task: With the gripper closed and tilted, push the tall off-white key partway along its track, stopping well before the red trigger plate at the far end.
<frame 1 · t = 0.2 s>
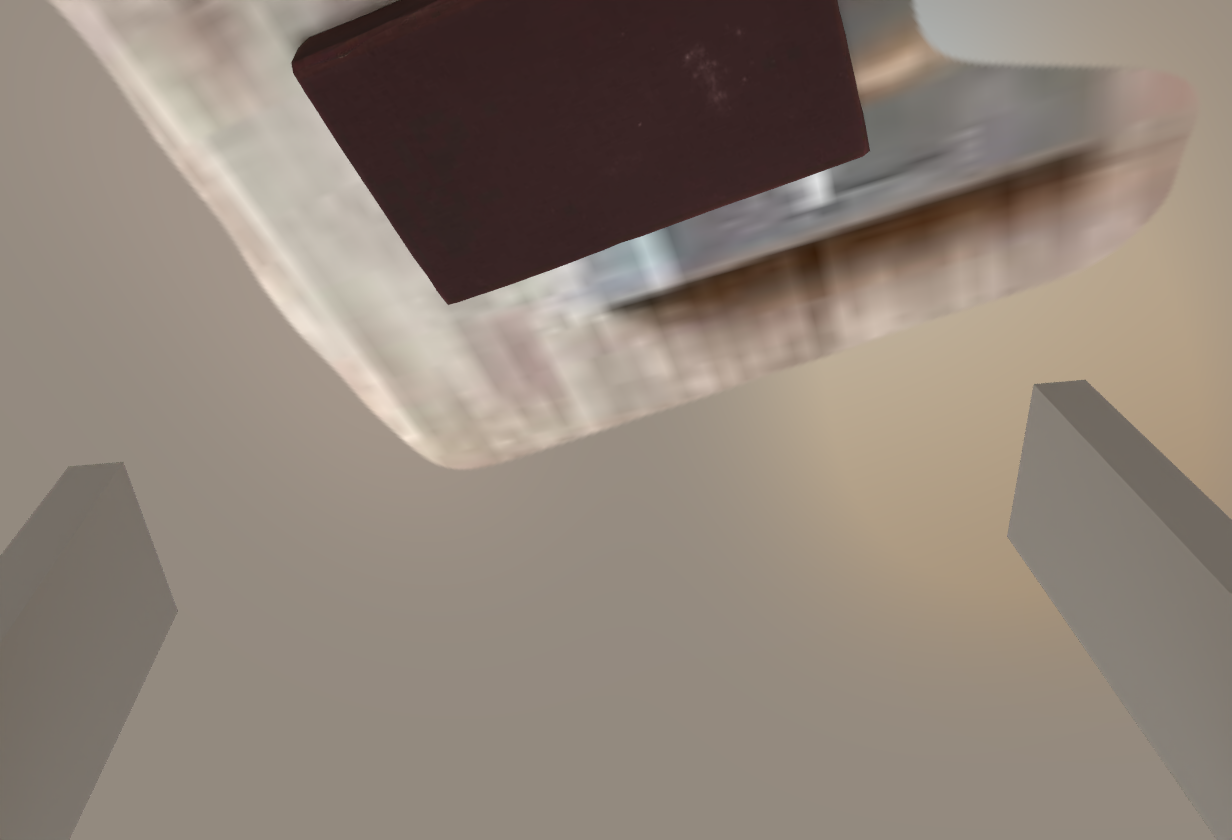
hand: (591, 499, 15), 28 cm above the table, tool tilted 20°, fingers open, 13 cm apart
book: (594, 75, 40), on the table
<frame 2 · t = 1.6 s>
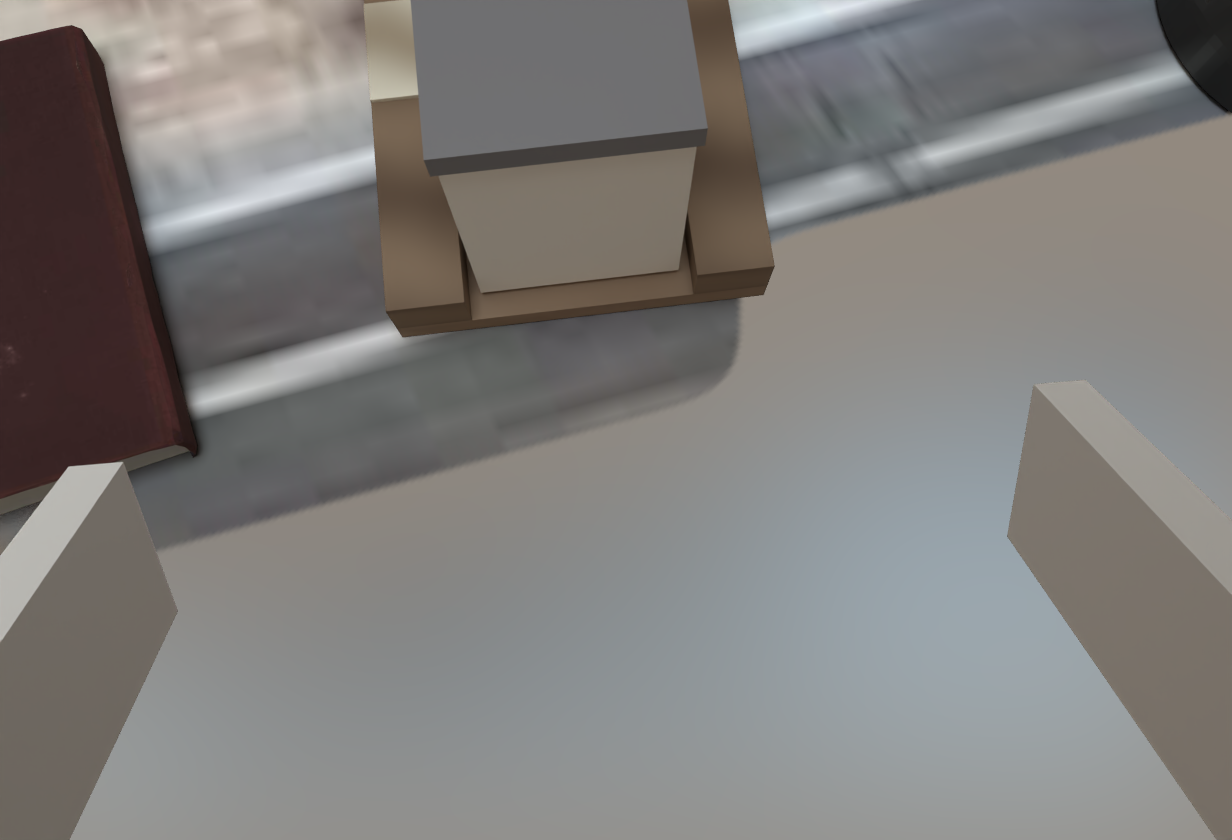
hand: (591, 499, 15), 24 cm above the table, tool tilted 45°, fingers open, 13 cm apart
key track: (560, 122, 43), on the table
book: (15, 296, 42), on the table
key: (564, 143, 35), point 7 cm above the table, slide at 0.0 cm
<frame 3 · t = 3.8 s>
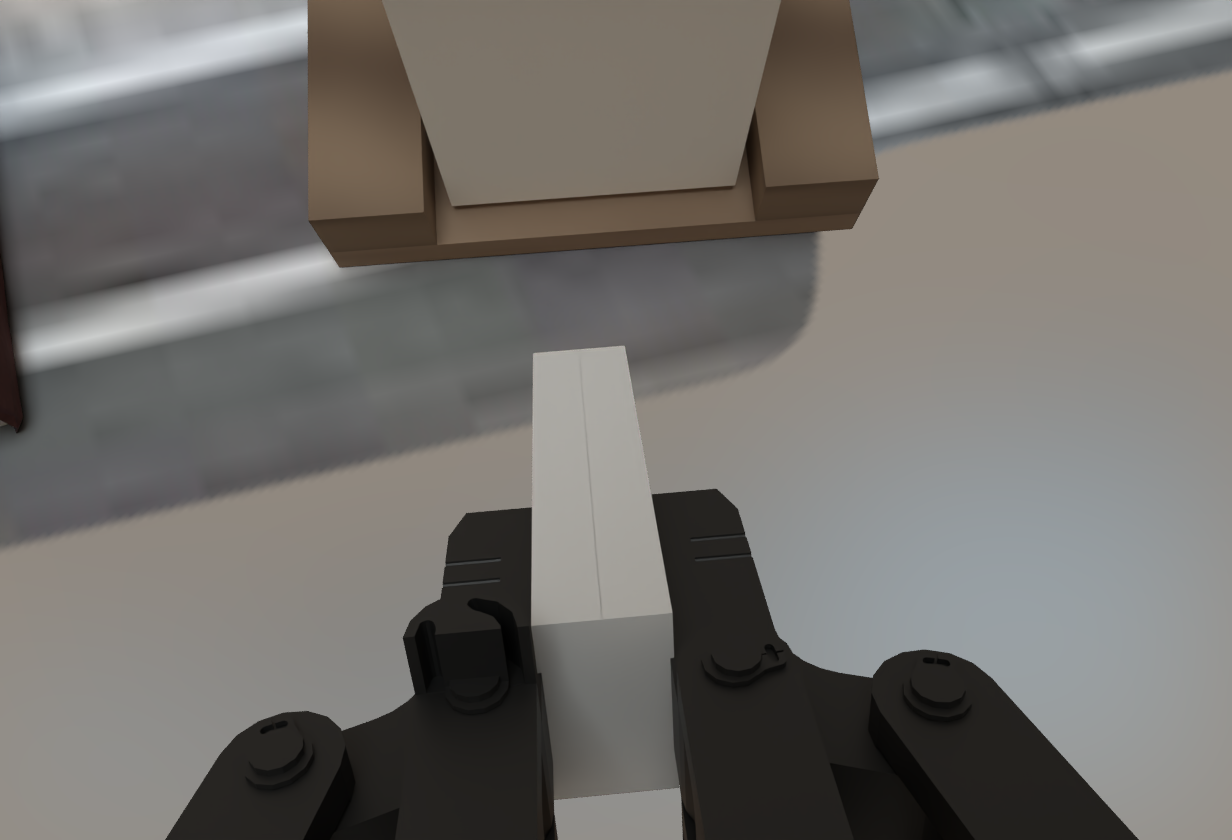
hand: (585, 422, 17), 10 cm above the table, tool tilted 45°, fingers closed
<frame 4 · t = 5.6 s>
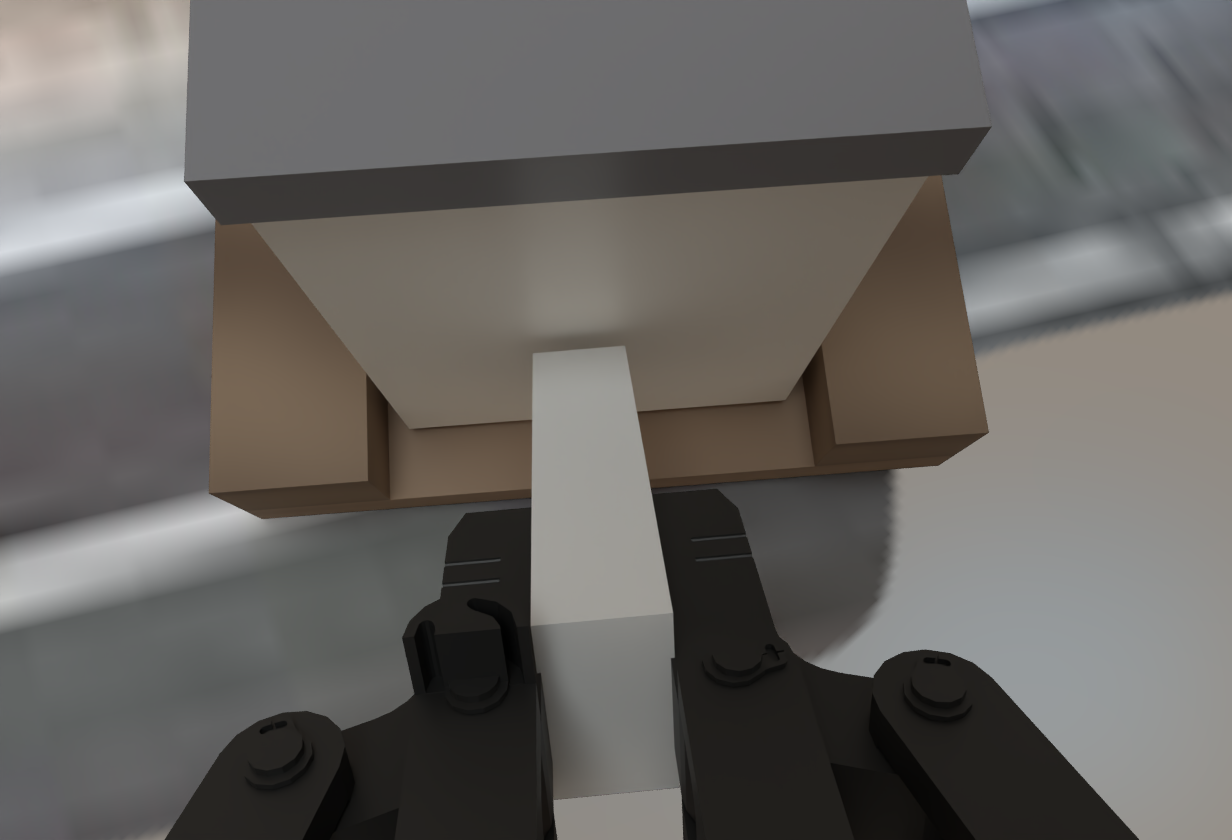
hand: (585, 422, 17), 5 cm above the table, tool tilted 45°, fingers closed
key track: (574, 130, 24), on the table
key: (582, 153, 16), point 7 cm above the table, slide at 0.4 cm, touching gripper
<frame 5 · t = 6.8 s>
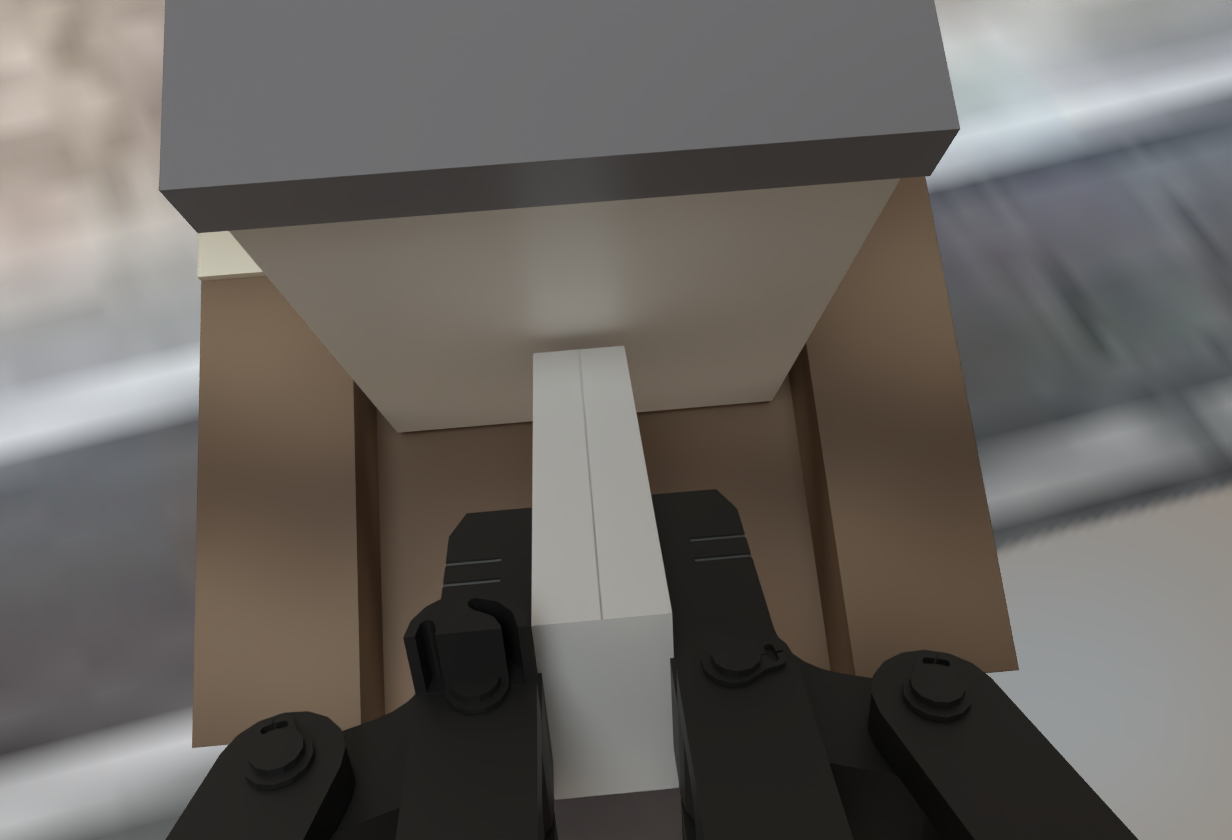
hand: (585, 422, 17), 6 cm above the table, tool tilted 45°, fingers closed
key track: (576, 305, 23), on the table
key: (564, 157, 16), point 7 cm above the table, slide at 4.9 cm, touching gripper
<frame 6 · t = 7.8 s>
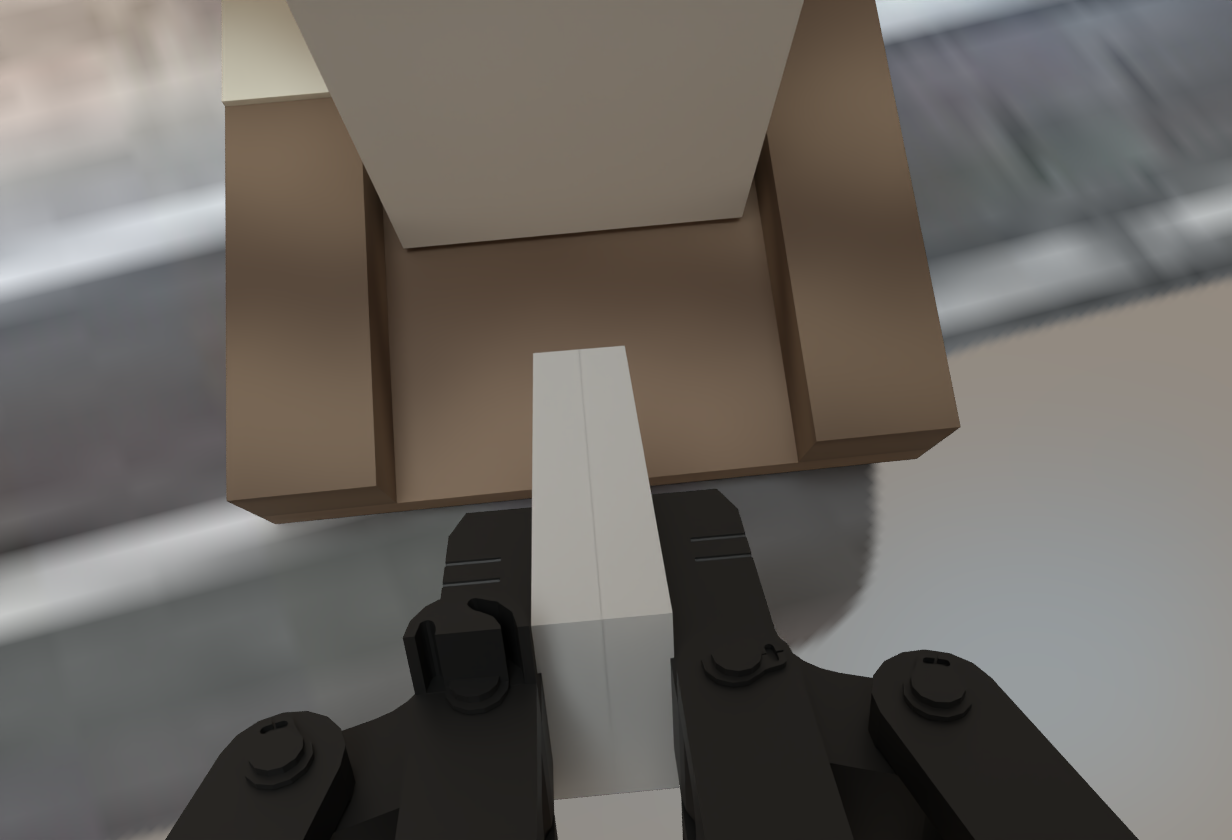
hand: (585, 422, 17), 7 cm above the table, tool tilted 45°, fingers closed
key track: (564, 146, 25), on the table
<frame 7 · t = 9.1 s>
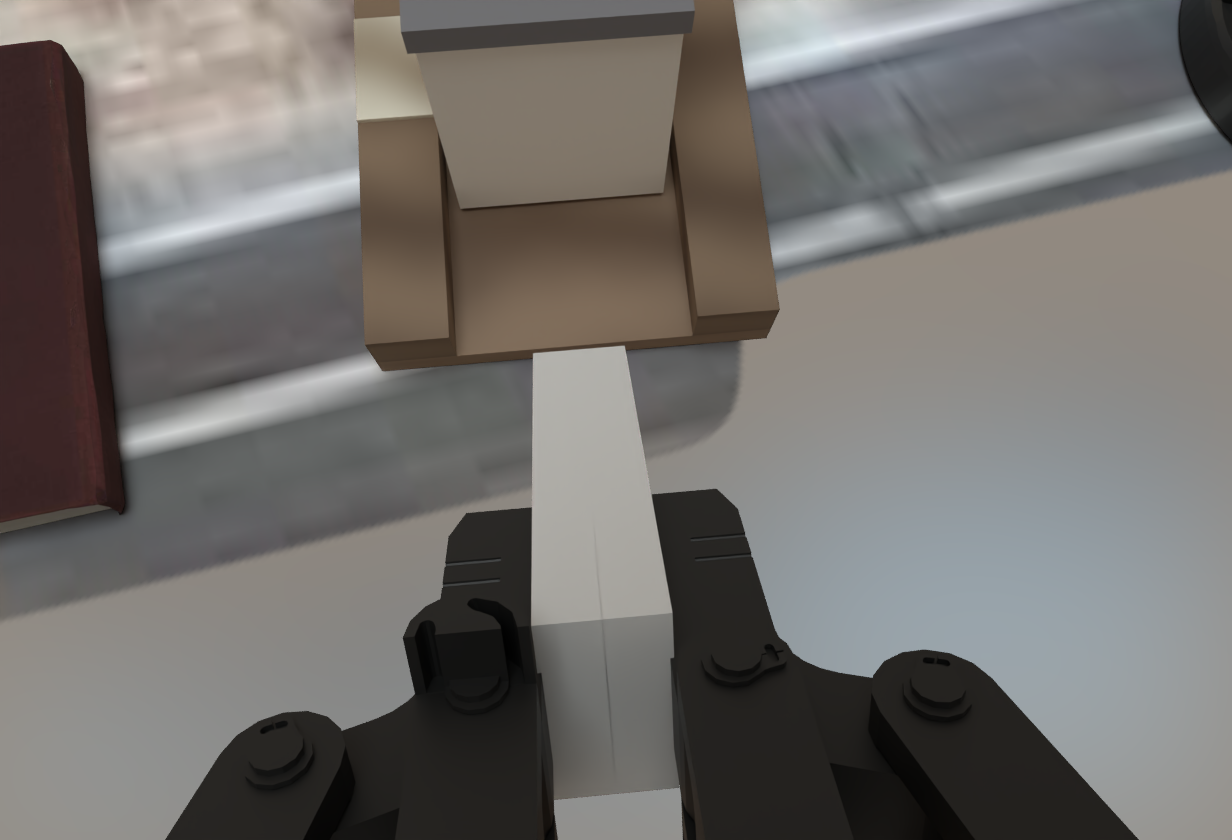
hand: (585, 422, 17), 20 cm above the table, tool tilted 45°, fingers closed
key track: (557, 149, 41), on the table
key: (549, 46, 34), point 7 cm above the table, slide at 5.0 cm
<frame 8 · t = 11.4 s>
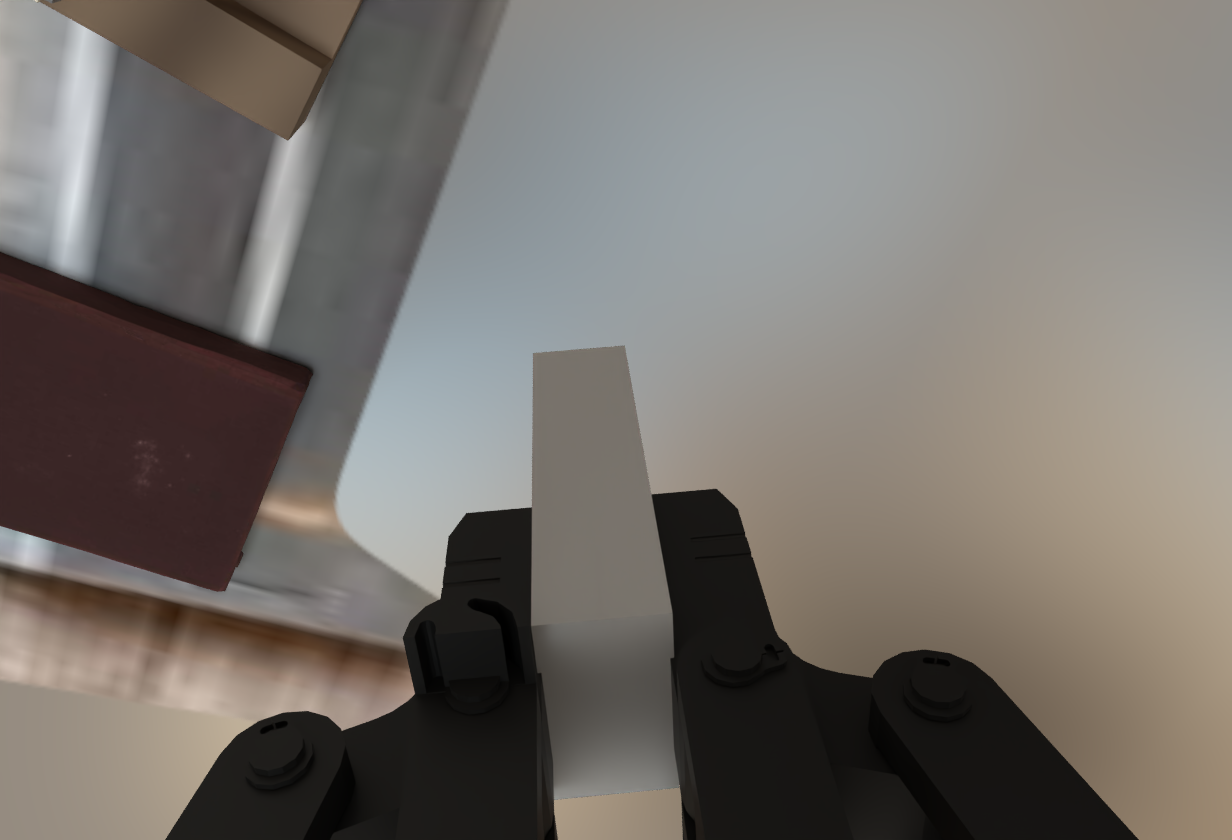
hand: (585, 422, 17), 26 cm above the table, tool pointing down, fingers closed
book: (71, 392, 45), on the table
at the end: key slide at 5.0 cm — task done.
